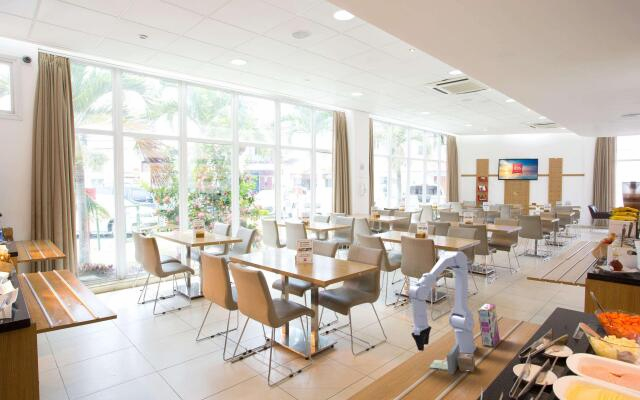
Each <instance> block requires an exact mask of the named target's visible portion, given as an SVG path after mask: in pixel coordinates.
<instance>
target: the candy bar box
mask: <svg viewBox="0 0 640 400" xmlns="http://www.w3.org/2000/svg"><path fill="white" fill-rule="evenodd" d="M496 308H497V307H496V304H495V303H494V304H492V303H484V304H482V306H481V307H479V308H478V309H477V310H478V311H477V313H478V319H479V320H478V321H479V326H480V328H479V329H480V336H481V342H482V346H483V347H490V348H492V347H491V346H493V347H494V346H495V345H496V344H497V343H496V342H498V341H499V340H500V330H499V325H498V315H497V309H496ZM495 343H496V344H495Z"/></svg>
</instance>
